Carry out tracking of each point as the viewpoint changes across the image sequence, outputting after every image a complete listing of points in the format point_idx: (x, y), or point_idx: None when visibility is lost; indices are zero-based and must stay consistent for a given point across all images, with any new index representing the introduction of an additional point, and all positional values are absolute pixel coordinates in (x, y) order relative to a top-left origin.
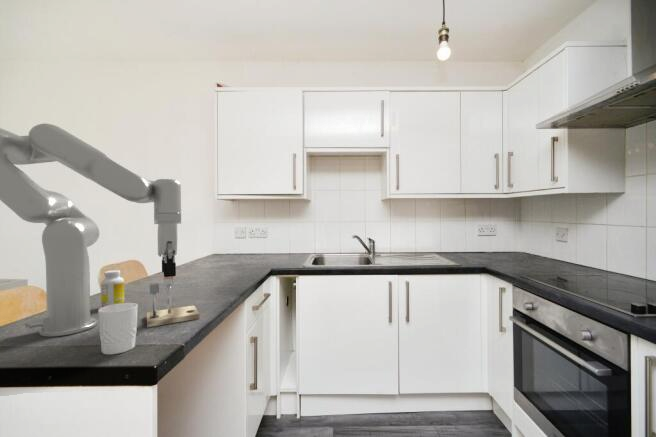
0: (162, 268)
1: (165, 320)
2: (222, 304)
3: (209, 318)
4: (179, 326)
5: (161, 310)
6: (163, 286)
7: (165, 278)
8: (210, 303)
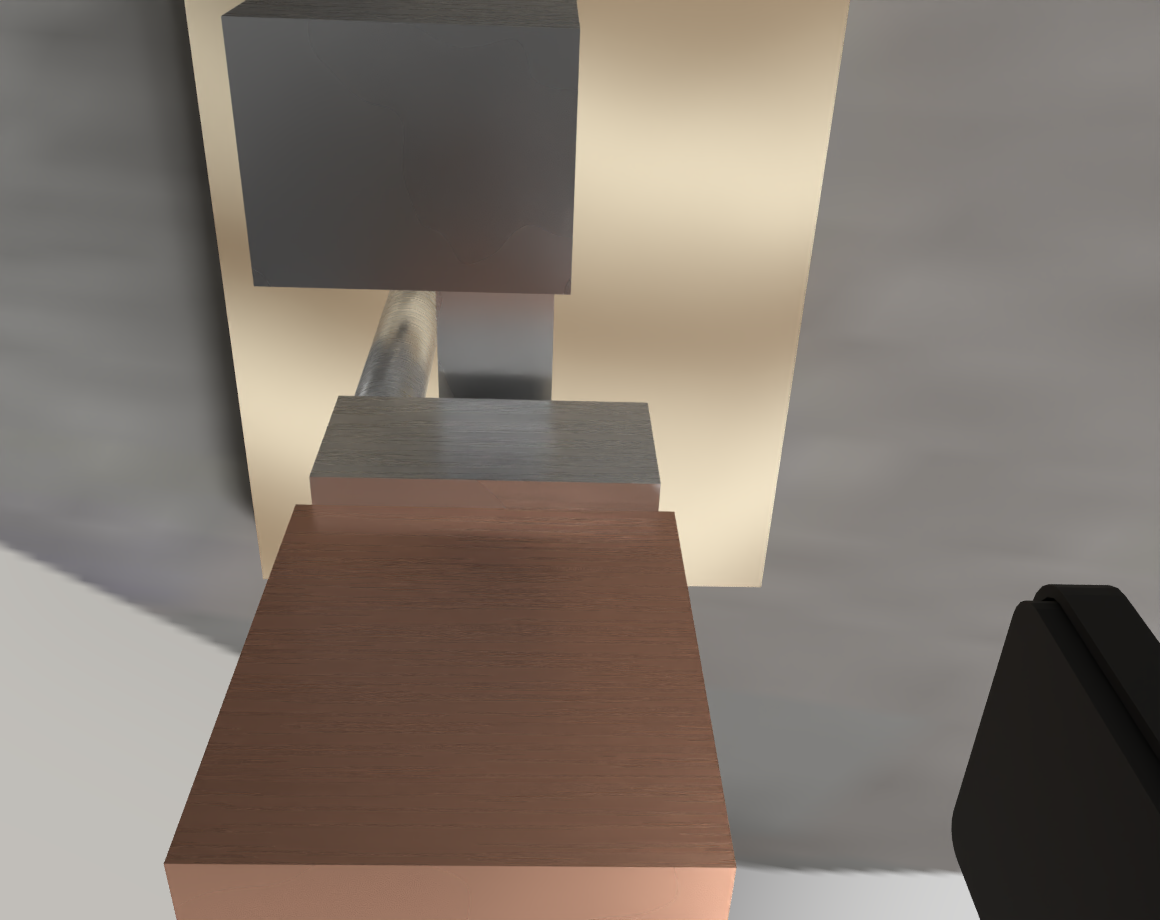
0: (1077, 685)
1: (212, 146)
2: (764, 828)
3: (227, 628)
4: (31, 290)
5: (793, 140)
6: (443, 369)
7: (284, 544)
8: (922, 741)
